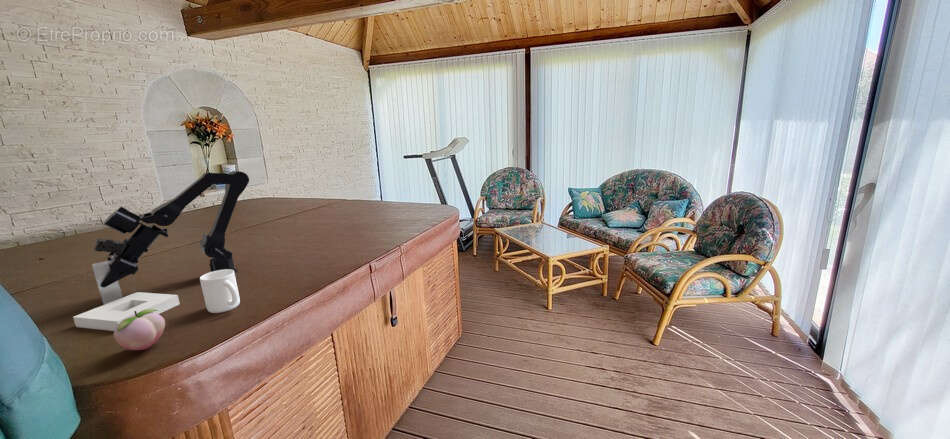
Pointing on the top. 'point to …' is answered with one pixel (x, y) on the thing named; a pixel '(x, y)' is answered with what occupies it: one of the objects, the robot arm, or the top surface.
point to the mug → (220, 290)
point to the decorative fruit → (139, 330)
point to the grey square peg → (110, 291)
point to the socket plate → (124, 310)
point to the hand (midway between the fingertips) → (101, 284)
